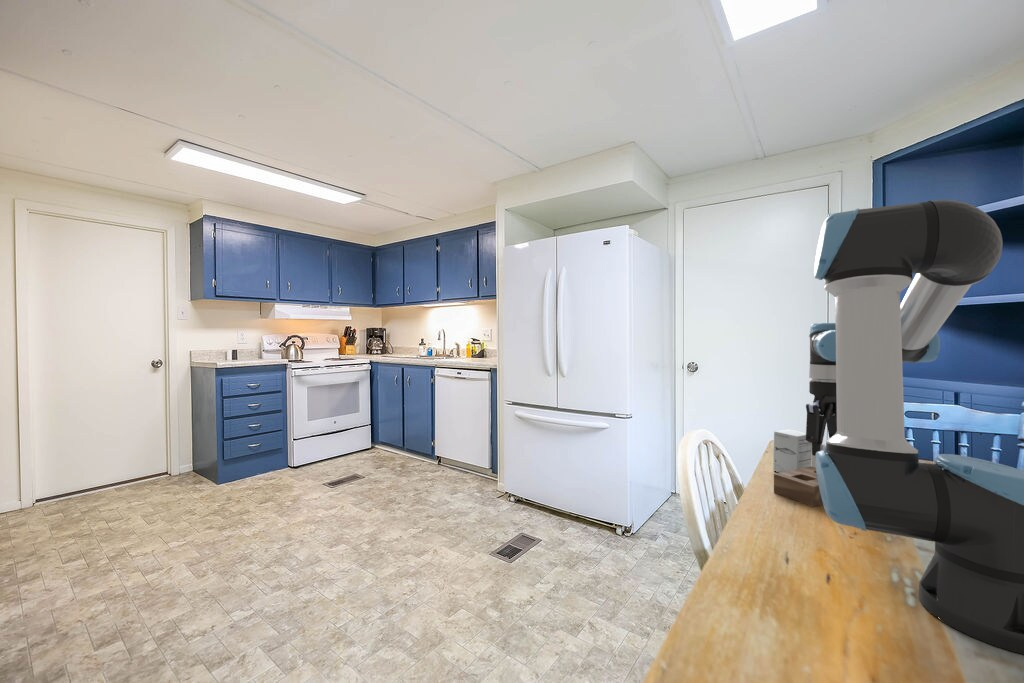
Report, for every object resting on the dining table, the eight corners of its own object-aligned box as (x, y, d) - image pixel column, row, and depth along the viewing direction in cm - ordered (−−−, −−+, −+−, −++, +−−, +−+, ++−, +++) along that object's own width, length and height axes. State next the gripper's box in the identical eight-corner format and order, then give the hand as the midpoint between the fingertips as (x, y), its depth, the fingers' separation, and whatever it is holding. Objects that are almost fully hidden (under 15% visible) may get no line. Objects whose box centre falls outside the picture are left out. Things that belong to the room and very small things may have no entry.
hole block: (813, 506, 102) (813, 486, 102) (773, 492, 112) (774, 473, 112) (856, 495, 110) (856, 476, 109) (816, 482, 119) (816, 465, 119)
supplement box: (772, 471, 129) (772, 430, 128) (787, 468, 132) (787, 428, 132) (797, 479, 122) (797, 436, 122) (812, 475, 125) (813, 433, 125)
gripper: (819, 383, 105) (818, 475, 105) (863, 380, 112) (862, 465, 113) (789, 380, 112) (788, 466, 112) (832, 377, 119) (831, 458, 119)
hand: (825, 466), depth 112 cm, fingers open, 6 cm apart
